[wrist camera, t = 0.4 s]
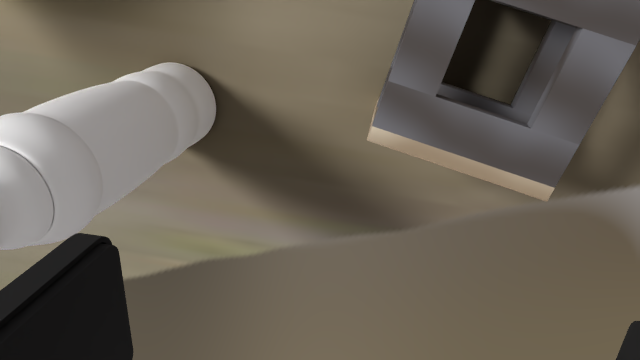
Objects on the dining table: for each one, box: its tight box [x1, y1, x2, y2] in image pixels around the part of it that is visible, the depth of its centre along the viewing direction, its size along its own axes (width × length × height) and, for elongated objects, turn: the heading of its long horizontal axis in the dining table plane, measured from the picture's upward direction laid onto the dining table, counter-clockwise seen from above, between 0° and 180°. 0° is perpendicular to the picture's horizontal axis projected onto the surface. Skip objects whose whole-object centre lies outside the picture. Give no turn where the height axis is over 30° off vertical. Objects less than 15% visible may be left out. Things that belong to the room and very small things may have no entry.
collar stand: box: [367, 0, 640, 201], centre depth 31 cm, size 14×12×8 cm
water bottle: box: [0, 62, 216, 250], centre depth 29 cm, size 7×7×25 cm
